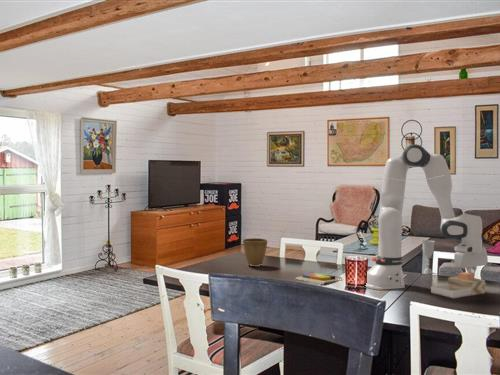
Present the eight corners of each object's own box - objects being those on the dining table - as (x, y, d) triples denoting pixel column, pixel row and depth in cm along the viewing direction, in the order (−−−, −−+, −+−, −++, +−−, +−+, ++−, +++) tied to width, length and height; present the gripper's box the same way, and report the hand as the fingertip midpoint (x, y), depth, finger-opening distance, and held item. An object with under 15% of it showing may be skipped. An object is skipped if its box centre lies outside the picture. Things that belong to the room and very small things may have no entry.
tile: (467, 280, 218) (467, 275, 218) (458, 278, 222) (458, 273, 222) (474, 279, 220) (474, 274, 220) (464, 277, 225) (464, 272, 225)
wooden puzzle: (342, 280, 247) (342, 274, 247) (323, 286, 233) (323, 279, 233) (315, 276, 259) (315, 269, 259) (294, 281, 245) (294, 274, 245)
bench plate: (470, 295, 214) (470, 282, 214) (448, 290, 225) (448, 277, 225) (484, 293, 219) (484, 280, 219) (462, 287, 229) (462, 275, 229)
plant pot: (238, 265, 288) (238, 239, 288) (260, 263, 295) (260, 237, 294) (248, 269, 275) (249, 241, 275) (271, 267, 281) (271, 240, 281)
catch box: (453, 298, 208) (453, 291, 208) (430, 292, 219) (431, 286, 219) (470, 295, 214) (470, 288, 214) (448, 290, 225) (448, 283, 225)
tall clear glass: (425, 274, 263) (425, 242, 263) (418, 271, 270) (419, 240, 269) (437, 273, 264) (437, 241, 264) (430, 271, 271) (430, 240, 271)
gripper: (479, 244, 231) (478, 272, 231) (451, 247, 221) (451, 276, 221) (491, 246, 226) (491, 275, 226) (463, 249, 216) (463, 279, 216)
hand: (471, 276), depth 224 cm, fingers closed
